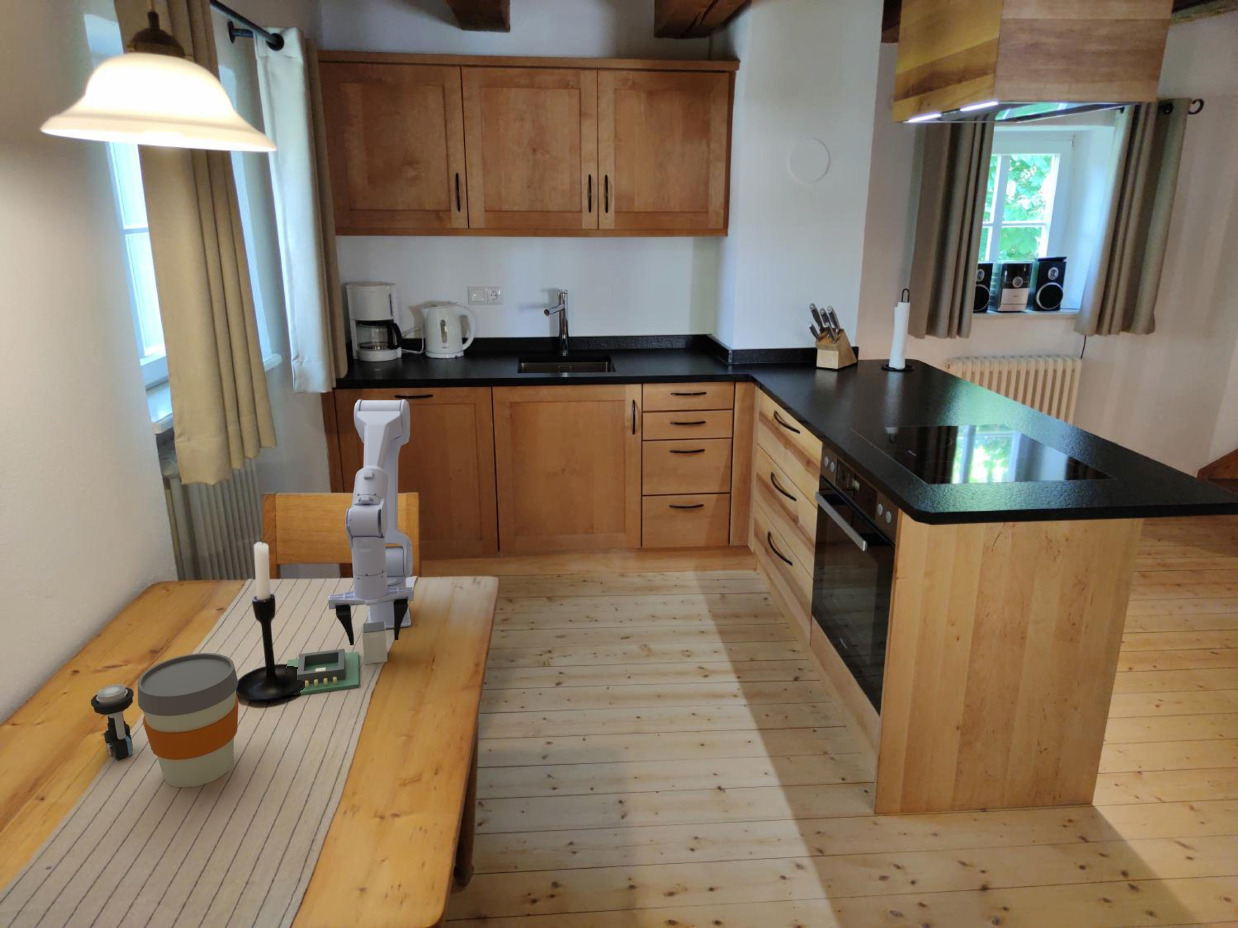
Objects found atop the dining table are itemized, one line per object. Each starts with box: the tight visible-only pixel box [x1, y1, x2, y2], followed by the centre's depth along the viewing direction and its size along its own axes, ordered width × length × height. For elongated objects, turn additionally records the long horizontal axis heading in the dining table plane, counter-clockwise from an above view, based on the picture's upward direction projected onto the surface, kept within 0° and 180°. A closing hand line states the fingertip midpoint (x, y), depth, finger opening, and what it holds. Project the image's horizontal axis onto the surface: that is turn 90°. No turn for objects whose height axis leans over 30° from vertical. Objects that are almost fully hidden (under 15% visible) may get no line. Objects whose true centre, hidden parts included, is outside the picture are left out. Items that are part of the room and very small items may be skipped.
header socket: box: [286, 648, 360, 696], centre depth 146 cm, size 12×12×3 cm
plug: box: [361, 621, 388, 665], centre depth 151 cm, size 4×4×6 cm
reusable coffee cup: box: [137, 652, 239, 788], centre depth 118 cm, size 13×13×15 cm
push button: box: [90, 683, 135, 761], centre depth 123 cm, size 7×5×10 cm
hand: (374, 640), depth 151 cm, fingers open, 7 cm apart
